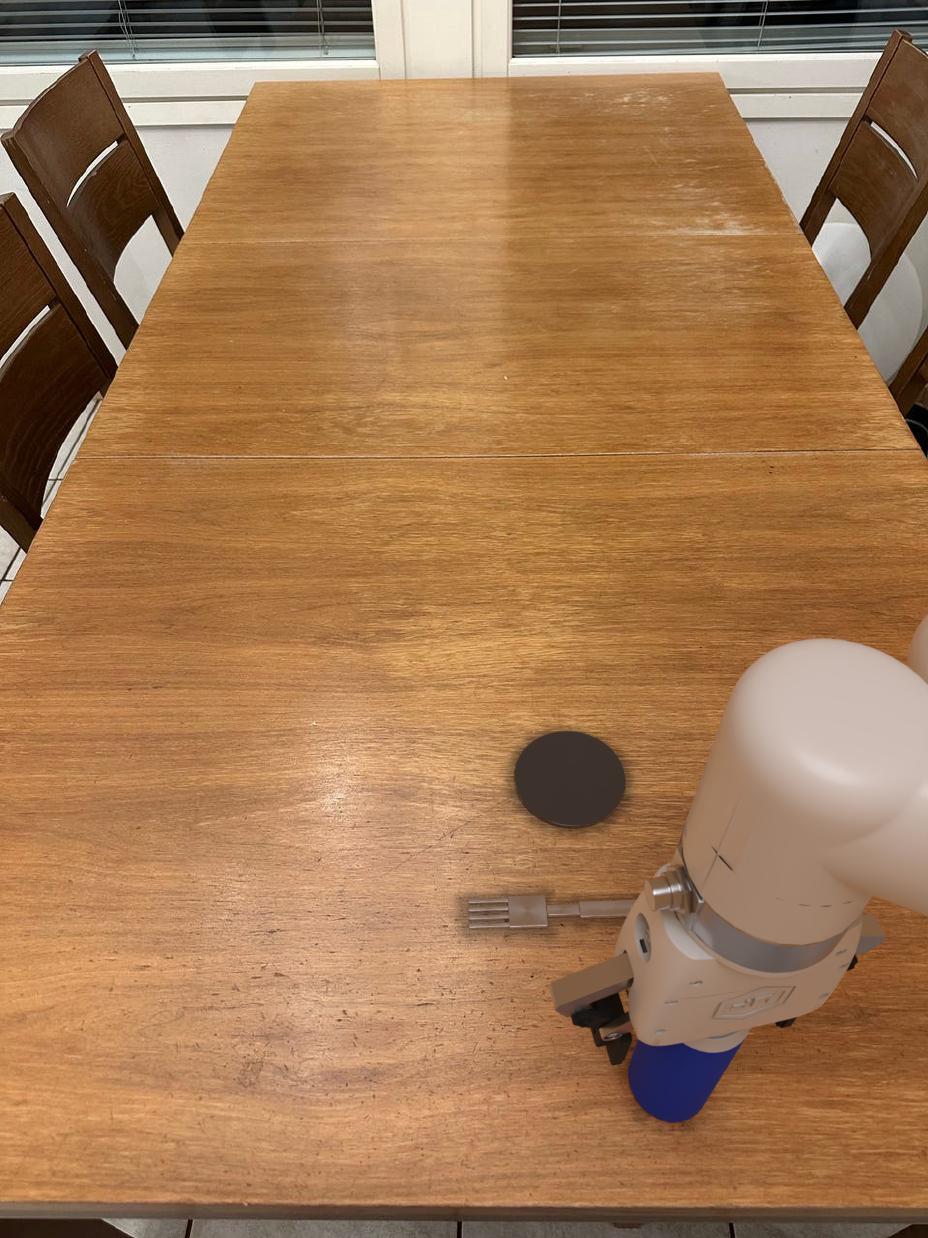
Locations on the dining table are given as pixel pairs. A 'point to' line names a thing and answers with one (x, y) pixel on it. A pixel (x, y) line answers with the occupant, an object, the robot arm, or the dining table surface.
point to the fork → (542, 911)
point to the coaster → (569, 779)
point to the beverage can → (680, 1074)
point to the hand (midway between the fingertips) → (691, 1018)
